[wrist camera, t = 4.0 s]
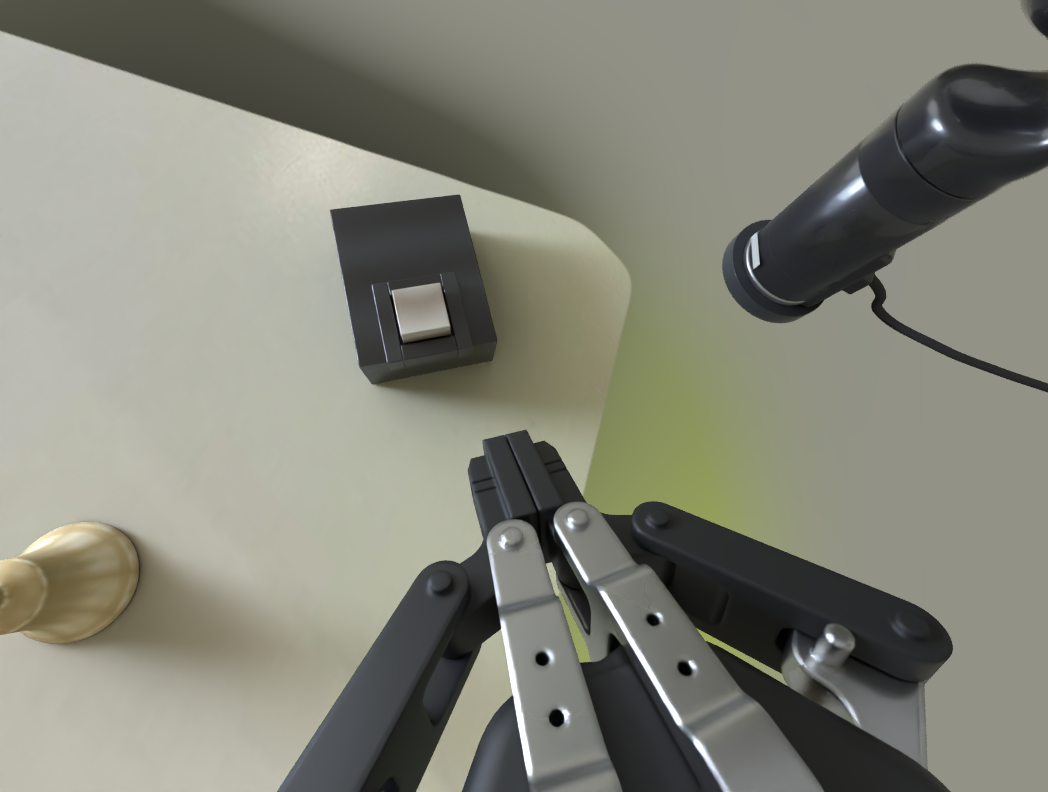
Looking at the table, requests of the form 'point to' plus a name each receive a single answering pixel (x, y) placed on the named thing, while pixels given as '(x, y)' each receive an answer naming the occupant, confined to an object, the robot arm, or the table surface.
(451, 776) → the table surface
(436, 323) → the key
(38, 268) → the table surface
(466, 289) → the black square panel
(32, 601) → the hand bell
